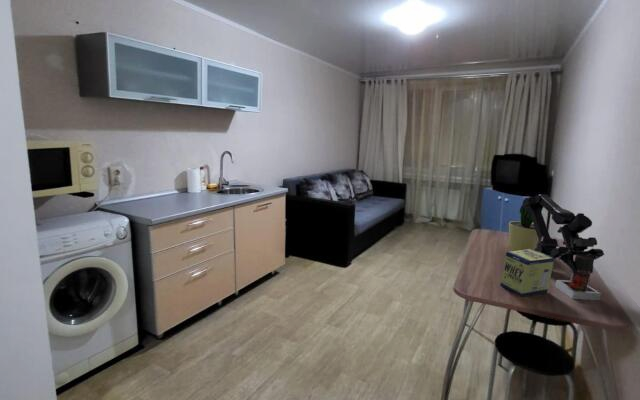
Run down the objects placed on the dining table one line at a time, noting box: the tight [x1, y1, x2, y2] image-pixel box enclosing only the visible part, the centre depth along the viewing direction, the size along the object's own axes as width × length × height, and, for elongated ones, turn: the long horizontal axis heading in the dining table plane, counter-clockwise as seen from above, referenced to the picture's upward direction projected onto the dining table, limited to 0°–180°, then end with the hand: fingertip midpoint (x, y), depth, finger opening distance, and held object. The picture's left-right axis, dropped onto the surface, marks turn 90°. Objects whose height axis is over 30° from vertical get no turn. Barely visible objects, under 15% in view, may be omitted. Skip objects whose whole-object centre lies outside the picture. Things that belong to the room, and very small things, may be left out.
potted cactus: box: [508, 204, 538, 251], centre depth 190 cm, size 15×15×30 cm
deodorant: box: [569, 254, 595, 291], centre depth 143 cm, size 6×6×15 cm
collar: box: [555, 279, 602, 301], centre depth 144 cm, size 11×11×3 cm
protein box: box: [500, 248, 556, 297], centre depth 144 cm, size 10×16×16 cm
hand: (583, 272), depth 141 cm, fingers closed on deodorant, 6 cm apart
